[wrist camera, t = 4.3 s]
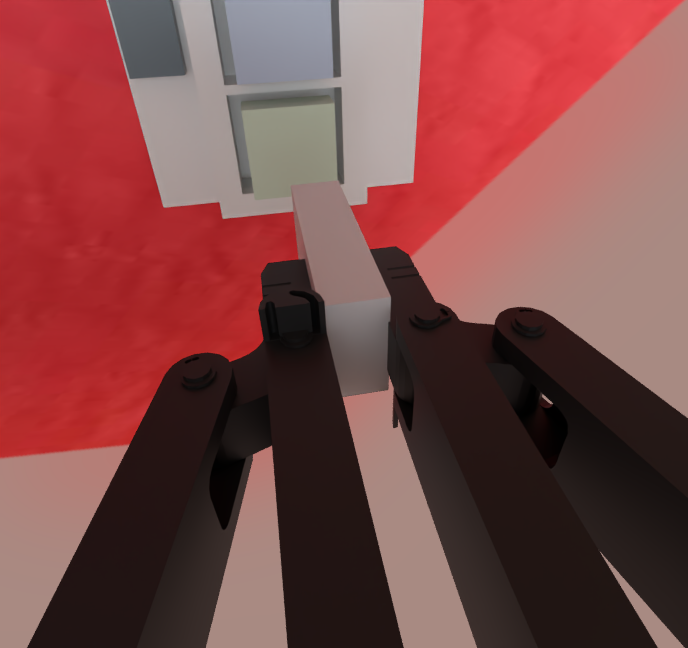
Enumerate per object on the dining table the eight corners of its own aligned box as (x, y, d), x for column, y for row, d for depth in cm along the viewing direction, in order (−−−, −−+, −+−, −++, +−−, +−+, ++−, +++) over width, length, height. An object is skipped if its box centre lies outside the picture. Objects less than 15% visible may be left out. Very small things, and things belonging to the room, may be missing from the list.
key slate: (236, 73, 22) (237, 84, 20) (220, -38, 19) (218, -37, 17) (324, 66, 22) (333, 78, 20) (319, -42, 20) (328, -42, 18)
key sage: (253, 180, 25) (254, 200, 23) (240, 96, 22) (241, 110, 20) (329, 173, 25) (338, 191, 23) (325, 90, 23) (334, 103, 21)
